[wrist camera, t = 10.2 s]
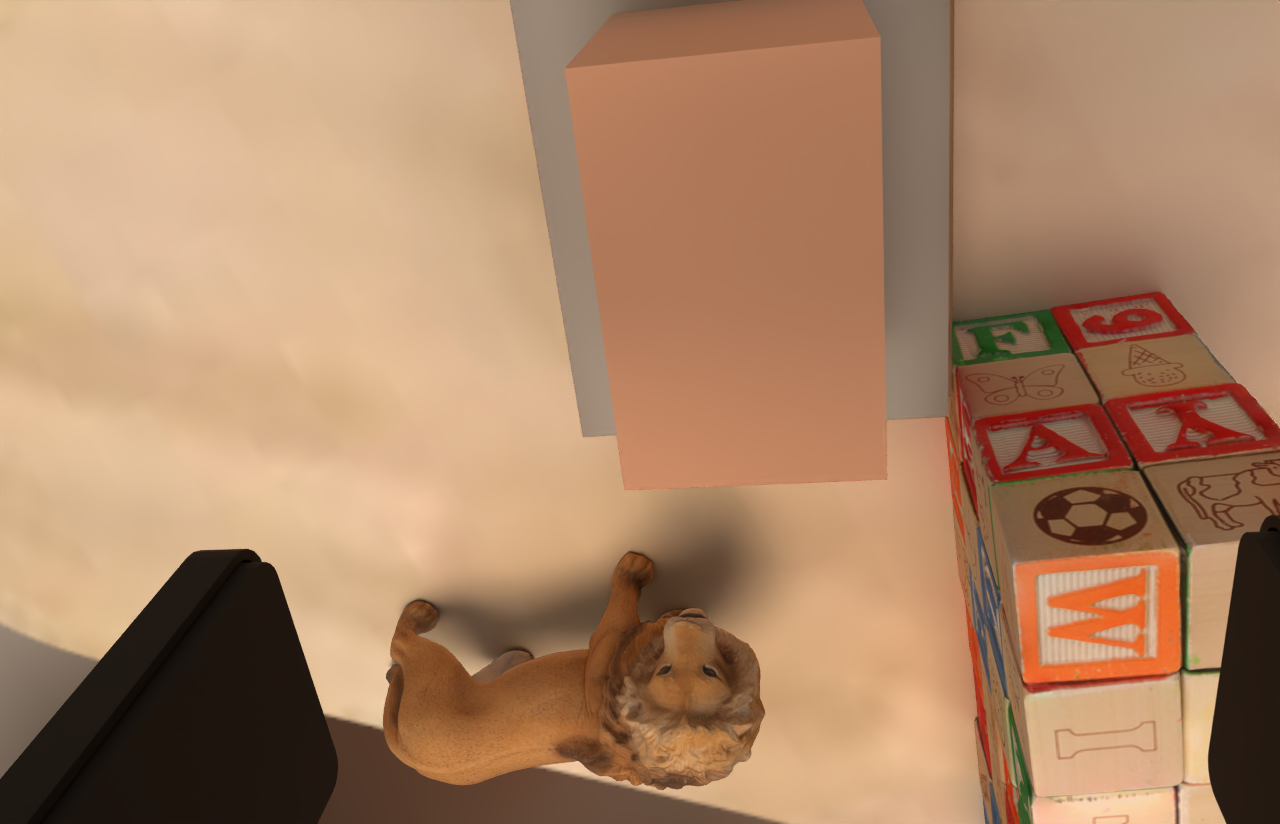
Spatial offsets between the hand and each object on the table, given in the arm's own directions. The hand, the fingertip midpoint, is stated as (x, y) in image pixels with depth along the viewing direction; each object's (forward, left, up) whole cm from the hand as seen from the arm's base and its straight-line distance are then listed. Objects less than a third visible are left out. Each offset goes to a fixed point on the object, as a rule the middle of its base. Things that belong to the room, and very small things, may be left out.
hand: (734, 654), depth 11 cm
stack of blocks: (-9, +16, -22) cm, 29 cm away
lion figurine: (+7, +15, -22) cm, 28 cm away
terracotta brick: (0, 0, -16) cm, 16 cm away
